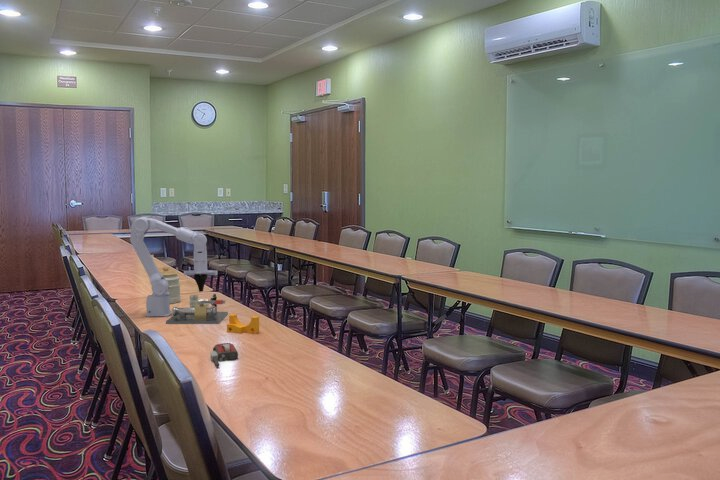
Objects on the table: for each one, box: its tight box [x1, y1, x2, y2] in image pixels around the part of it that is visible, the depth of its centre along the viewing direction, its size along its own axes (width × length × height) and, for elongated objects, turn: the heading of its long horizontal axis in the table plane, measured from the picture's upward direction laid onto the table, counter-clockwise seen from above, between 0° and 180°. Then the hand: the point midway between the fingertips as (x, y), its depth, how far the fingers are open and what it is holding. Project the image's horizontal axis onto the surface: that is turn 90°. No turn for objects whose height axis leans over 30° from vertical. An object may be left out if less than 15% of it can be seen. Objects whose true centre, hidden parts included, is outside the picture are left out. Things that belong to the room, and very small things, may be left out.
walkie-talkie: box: [210, 342, 239, 367], centre depth 198 cm, size 9×4×20 cm
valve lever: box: [200, 299, 226, 306], centre depth 253 cm, size 11×2×2 cm, turn 90°
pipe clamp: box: [226, 313, 260, 335], centre depth 232 cm, size 12×4×6 cm, turn 70°
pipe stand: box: [165, 304, 228, 325], centre depth 254 cm, size 22×18×6 cm
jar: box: [158, 265, 181, 305], centre depth 289 cm, size 13×13×18 cm
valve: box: [188, 293, 218, 308], centre depth 274 cm, size 7×7×12 cm
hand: (201, 291), depth 265 cm, fingers closed
